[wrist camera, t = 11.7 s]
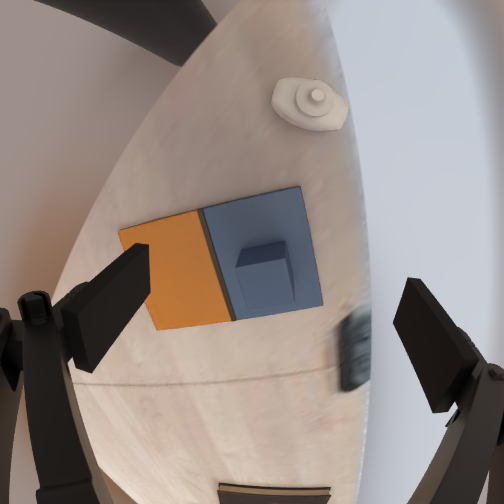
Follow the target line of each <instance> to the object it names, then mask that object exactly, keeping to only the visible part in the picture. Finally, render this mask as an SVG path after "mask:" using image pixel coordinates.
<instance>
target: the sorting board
mask: <svg viewBox="0 0 504 504" xmlns="http://www.w3.org/2000/svg"><path fill="white" fill-rule="evenodd" d="M118 235H119V238H120V241H121V243H122V246H123V249H124V252H125V251H126V250H127V249H128V248H130V247H131V246H132V245H133V244H135V243H142V244H149V261H150V285H151V293H150V294H149V296H148V297H147V298H146V300H145V301H144V302H145V304H146V307H147V309H148V311H149V314H150V316H151V318H152V321H153V323H154V325H155V327H156V329H157V331H158V330H167V329H175V328H183V327H191V326H199V325H207V324H214V323H221V322H228V321H237V320H241V319H248V318H254V317H261V316H267V315H273V314H279V313H284V312H290V311H296V310H301V309H307V308H312V307H317V306H323V301H322V295H321V289H320V284H319V278H318V272H317V267H316V261H315V256H314V251H313V245H312V240H311V235H310V230H309V225H308V220H307V215H306V210H305V206H304V201H303V196H302V192H301V187H300V186H297V187H292V188H288V189H283V190H278V191H274V192H269V193H265V194H260V195H256V196H251V197H247V198H242V199H238V200H234V201H230V202H225V203H221V204H217V205H213V206H209V207H205V208H201V209H197V210H193V211H189V212H185V213H181V214H177V215H173V216H170V217H166V218H162V219H158V220H155V221H151V222H147V223H144V224H140V225H136V226H133V227H129V228H126V229H122V230H119V231H118ZM282 241H285V242H286V246H287V251H288V255H289V260H290V264H291V269H292V273H293V278H294V289H295V302H294V303H289V304H283V305H277V306H272V307H266V308H260V309H254V310H247V307H246V304H245V300H244V297H243V293H242V290H241V287H240V283H239V280H238V276H237V273H236V270H235V266H236V264H237V261H238V258H239V255H240V252H241V250H242V249H247V248H252V247H257V246H262V245H267V244H272V243H277V242H282Z"/></svg>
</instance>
